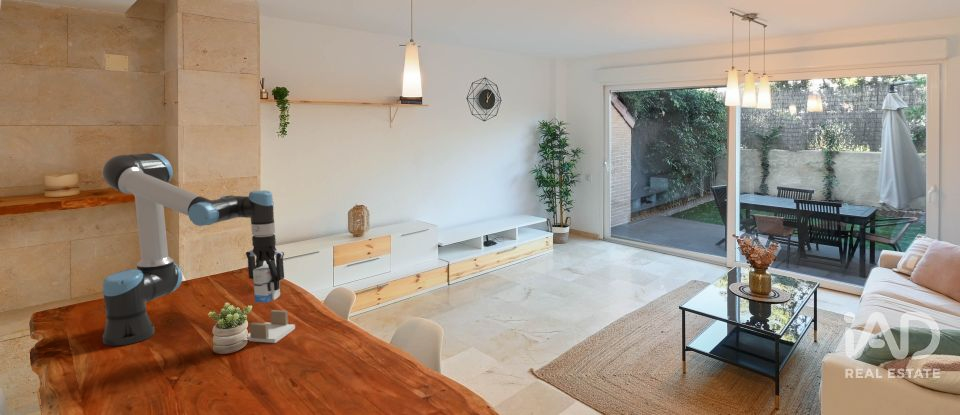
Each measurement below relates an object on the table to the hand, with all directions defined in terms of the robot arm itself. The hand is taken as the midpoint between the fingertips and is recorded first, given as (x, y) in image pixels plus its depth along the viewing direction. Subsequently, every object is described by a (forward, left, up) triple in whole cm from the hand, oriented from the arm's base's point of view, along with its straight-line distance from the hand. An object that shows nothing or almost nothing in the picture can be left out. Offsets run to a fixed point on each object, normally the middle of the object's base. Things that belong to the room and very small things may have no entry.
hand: (267, 297), depth 178 cm
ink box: (0, 0, 0) cm, 0 cm away
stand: (0, 0, -14) cm, 14 cm away
